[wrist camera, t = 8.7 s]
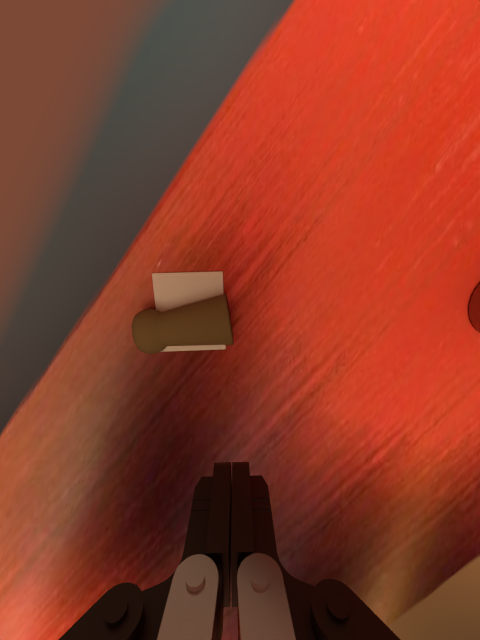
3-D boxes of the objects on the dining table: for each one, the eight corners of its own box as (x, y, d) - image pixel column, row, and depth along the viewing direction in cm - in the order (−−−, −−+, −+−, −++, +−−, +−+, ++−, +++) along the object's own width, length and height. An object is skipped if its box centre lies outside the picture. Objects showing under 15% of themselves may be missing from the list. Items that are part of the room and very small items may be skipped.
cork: (235, 353, 32) (145, 366, 32) (229, 311, 35) (148, 324, 35) (229, 329, 27) (122, 345, 27) (223, 282, 30) (127, 297, 30)
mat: (222, 271, 32) (222, 271, 32) (225, 348, 35) (225, 349, 34) (153, 273, 32) (152, 273, 32) (160, 350, 34) (160, 351, 34)
